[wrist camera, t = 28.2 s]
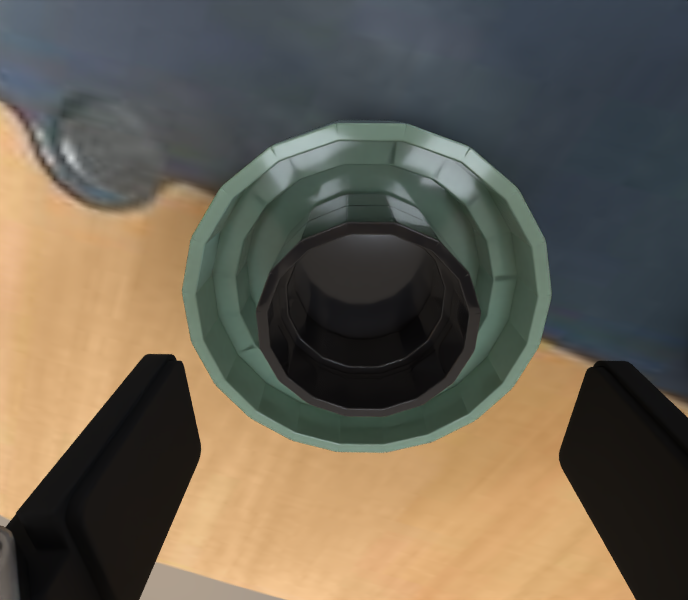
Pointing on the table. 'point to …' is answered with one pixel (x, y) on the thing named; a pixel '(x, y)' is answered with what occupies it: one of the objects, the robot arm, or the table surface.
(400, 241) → the charcoal bowl
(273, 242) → the celadon bowl
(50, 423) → the table surface
